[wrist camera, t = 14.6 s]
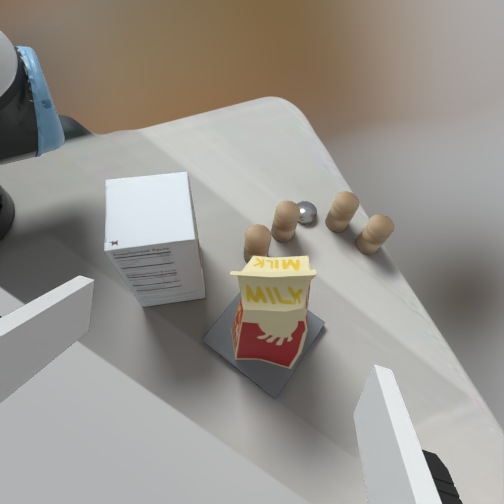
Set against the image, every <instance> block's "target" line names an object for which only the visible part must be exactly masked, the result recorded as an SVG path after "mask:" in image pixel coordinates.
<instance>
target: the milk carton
mask: <svg viewBox="0 0 504 504" xmlns="http://www.w3.org/2000/svg"><path fill="white" fill-rule="evenodd" d="M230 275H238V280H239V286H240V291H241V298H240V302H239V305H238V308H237V312H236V315H235V318H234V321H233V324H232V326H231V334H232V342H233V349H234V356H235V360H261V361H265V362H268V363H272V364H275V365H278V366H282V367H285V368H288V369H291V368H292V366H293V365H294V363H295V362H296V360H297V359H298V357H299V355H300V354H301V352H302V348H303V345H304V341H305V338H306V334H307V330H308V299H309V290H310V282H311V280H312V279H313V278H314V277H315V275H316V270H310V266H309V258H308V256H295V257H278V258H272V257H262V256H253V257H252V258H251V259H250V261H249V262H248V264H247V265H246V266H245V268H244V269H243V271H242V272H235V271H231V274H230Z"/></svg>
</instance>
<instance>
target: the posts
mask: <svg viewBox="0 0 504 504" xmlns="http://www.w3.org/2000/svg"><path fill="white" fill-rule="evenodd" d="M358 207H359V200H358V198H357V196H356V195H354V194H353V193H351V192H346V191H345V192H340V193H339V194H337V196H336V198H335V200H334V202H333V204H332V207H331V209H330V211H329V213H328V215H327V218H326V221H325V222H326V226H327V227H328V228H329V229H330V230H332V231H334V232H342V231H344V230H345V229H346V227H347V226H348V224H349V222H350V220H351V219H352V217H353V215H354V214H355V212H356V210H357V208H358ZM299 217H300V208H299V206H298V205H297V204H295V203H294V202H291V201H283V202H281V203H279V204H278V205H277V207H276V211H275V216H274V220H273V225H272V230H271V232H270V231H269V229H268V228H267V227H265V226H263V225H253V226H251V227H249V228H248V229H247V231H246V234H245V247H244V258H245V260H246V262H247V263H248V262H249V261H250V259H251V258H252V257H253V256H262V257H267V255H268V251H269V246H270V241H271V233H272V236H273V237H274V239H276V240H277V241H280V242H287V241H289V240H291V239H292V237H293V235H294V232H295V229H296V226H297V223H298V220H299ZM393 230H394V224H393V222H392V220H391V219H390V218H388V217H387V216H385V215H381V214H378V215H374V216H372V217H371V219H370V220H369V222H368V223H367V225H366V226H365V228H364V229H363V231H362V232H361V234H360V235H359V237H358V238H357V240H356V246H357V248H358V250H359V251H361V252H362V253H364V254H367V255H371V254H374V253H376V252H377V250H378V249H379V248H380V247H381V246H382V244H383V243H384V242H385V241H386V239H387V238H388V237H389V236H390V235H391V233H392V232H393Z"/></svg>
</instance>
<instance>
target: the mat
mask: <svg viewBox="0 0 504 504" xmlns="http://www.w3.org/2000/svg"><path fill="white" fill-rule="evenodd" d="M240 298H241V292H240V293H239V294H238V295H237V297H236V298H235V299H234V300H233V302H232V303H231V304H230V305H229V307H228V308H227V309H226V310H225V311H224V313H223V314H222V315H221V316H220V318H219V319H218V320H217V321H216V323H215V324H214V325H213V326H212V328H211V329H210V330H209V331H208V333H207V334H206V335H205V336H204V338H203V339H202V341H203V342H204V343H205V344H206V345H208V346H209V347H210V348H211V349H213V350H214V351H215V352H217V353H218V354H219V355H220V356H222V357H223V358H224V359H225V360H227V361H228V362H229V363H231V364H232V365H233V366H234V367H236V368H237V369H238V370H240V371H241V372H242V373H243V374H245V375H246V376H247V377H248V378H250V379H251V380H252V381H254V382H255V383H256V384H257V385H259V386H260V387H261V388H263V389H264V390H265V391H266V392H268V393H269V394H270V395H271V396H273V397H274V398H275V399H276V398H277V396H278V395H279V393H280V392H281V390H282V389H283V387H284V385H285V384H286V382H287V381H288V379H289V378H290V376H291V375H292V373H293V372H294V370H295V368H296V367H297V365H298V364H299V362H300V361H301V359H302V358H303V356H304V354H305V353H306V351H307V350H308V348H309V347H310V345H311V344H312V342H313V341H314V339H315V337H316V336H317V334H318V333H319V331H320V330H321V328H322V327H323V325H324V323H325V322H324V321H323V320H321V319H320V318H319V317H317V316H316V315H314V314H313V313H311V312H310V311H308V330H307V334H306V338H305V341H304V345H303V348H302V352H301V354H300V355H299V357H298V359H297V360H296V362H295V363H294V365H293V366H292V368H291V369H288V368H285V367H282V366H278V365H275V364H272V363H268V362H265V361H261V360H235V356H234V349H233V342H232V334H231V326H232V324H233V321H234V318H235V315H236V312H237V308H238V305H239V302H240Z"/></svg>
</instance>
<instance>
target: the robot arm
mask: <svg viewBox="0 0 504 504" xmlns="http://www.w3.org/2000/svg"><path fill="white" fill-rule="evenodd" d="M63 143H64V133H63V130H62V126H61V123H60V120H59V117H58V115H57V112H56V109H55V106H54V103H53V100H52V97H51V94H50V92H49V89H48V86H47V83H46V81H45V78H44V75H43V72H42V69H41V66H40V64H39V61H38V59H37V56H36V54H35V52H34V51H33V50H32V49H31V48H29V47H22V46H16V47H13V45H12V44H11V42H10V41H9V40H8V38H7V37H6V36H5V35H4V34H3V33H2V32H1V31H0V165H3V164H7V163H11V162H15V161H19V160H23V159H27V158H32V157H39V156H40V155H41V154H43V153H46V152H49V151H52V150H56V149H58V148H60V147H61V146H62V145H63ZM13 216H14V205H13V201H12V199H11V197H10V195H9V194H8V193H7V192H6V191H5V190H4V189H3V188H2V186H1V185H0V240H1V239H2V238H3V236H4V235H5V234H6V232H7V231H8V229H9V227H10V225H11V223H12V220H13ZM94 281H95V280H93V279H90V278H87V277H83V276H80V275H79V276H77V277H75V278H74V279H72V280H70V281H68V282H66V283H64V284H62V285H61V286H59V287H57V288H55V289H53V290H51V291H49V292H48V293H46V294H44V295H42V296H40V297H38V298H37V299H35V300H33V301H31V302H29V303H27V304H25V305H24V306H22V307H20V308H18V309H16V310H14V311H13V312H11V313H9V314H7V315H5V316H3V317H1V316H0V403H1V402H2V401H3V400H5V399H6V398H7V397H8V396H10V395H11V394H12V393H13V392H14V391H16V390H17V389H18V388H19V387H20V386H22V385H23V384H24V383H25V382H27V381H28V380H29V379H30V378H32V377H33V376H34V375H35V374H37V373H38V372H39V371H40V370H41V369H43V368H44V367H45V366H46V365H47V364H49V363H50V362H51V361H52V360H54V359H55V358H56V357H57V356H59V354H61V353H62V352H63V351H65V350H66V349H67V348H68V347H70V346H71V345H72V344H73V343H75V342H76V341H77V340H78V339H79V338H81V337H82V336H83V335H84V334H86V333H87V332H88V331H89V327H90V318H91V308H92V299H93V290H94ZM353 415H354V421H355V427H356V433H357V439H358V445H359V451H360V457H361V463H362V469H363V475H364V481H365V487H366V493H367V499H368V504H462V501H461V500H460V499H459V494H458V492H457V490H456V487H454V483H453V481H452V478H451V476H450V474H449V471H448V469H447V468H446V466H445V465H444V464H443V463H442V461H441V460H440V459H439V457H438V456H437V455H436V454H434V453H431V452H428V451H425V450H422V449H421V447H420V444H419V441H418V439H417V436H416V433H415V431H414V428H413V425H412V423H411V420H410V417H409V415H408V412H407V409H406V407H405V404H404V402H403V399H402V396H401V394H400V391H399V388H398V386H397V383H396V380H395V378H394V375H393V372H392V370H391V369H387V368H384V367H381V366H377V365H374V366H373V368H372V371H371V373H370V375H369V378H368V380H367V382H366V385H365V387H364V390H363V392H362V394H361V397H360V399H359V402H358V404H357V406H356V409H355V411H354V413H353Z"/></svg>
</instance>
